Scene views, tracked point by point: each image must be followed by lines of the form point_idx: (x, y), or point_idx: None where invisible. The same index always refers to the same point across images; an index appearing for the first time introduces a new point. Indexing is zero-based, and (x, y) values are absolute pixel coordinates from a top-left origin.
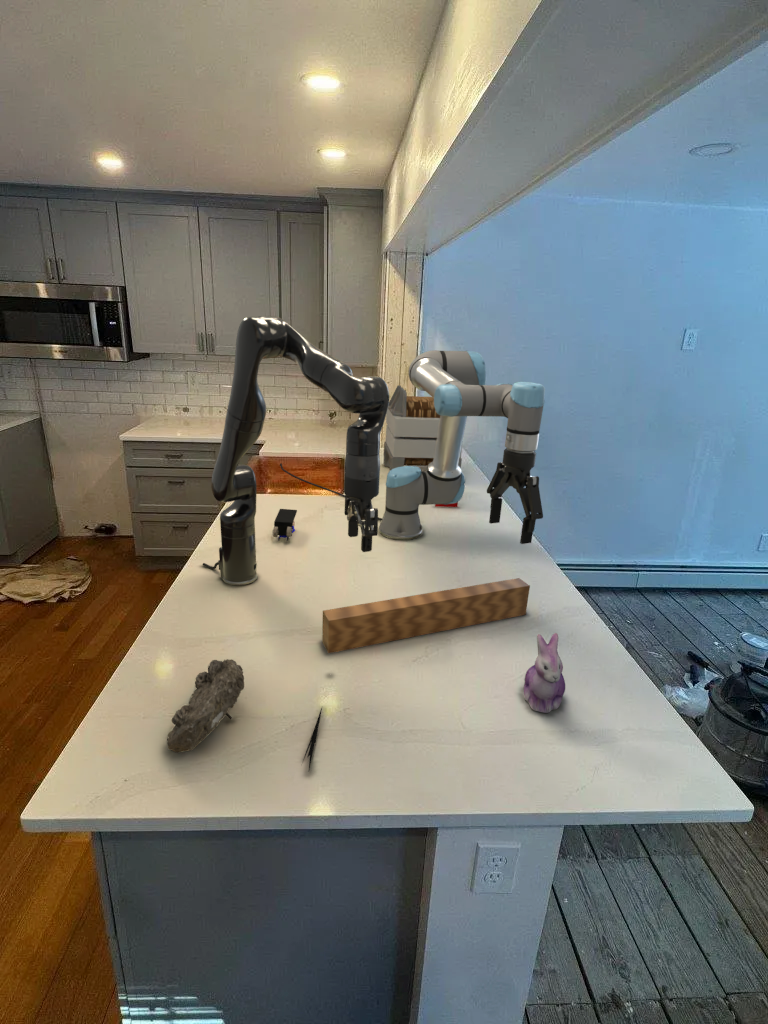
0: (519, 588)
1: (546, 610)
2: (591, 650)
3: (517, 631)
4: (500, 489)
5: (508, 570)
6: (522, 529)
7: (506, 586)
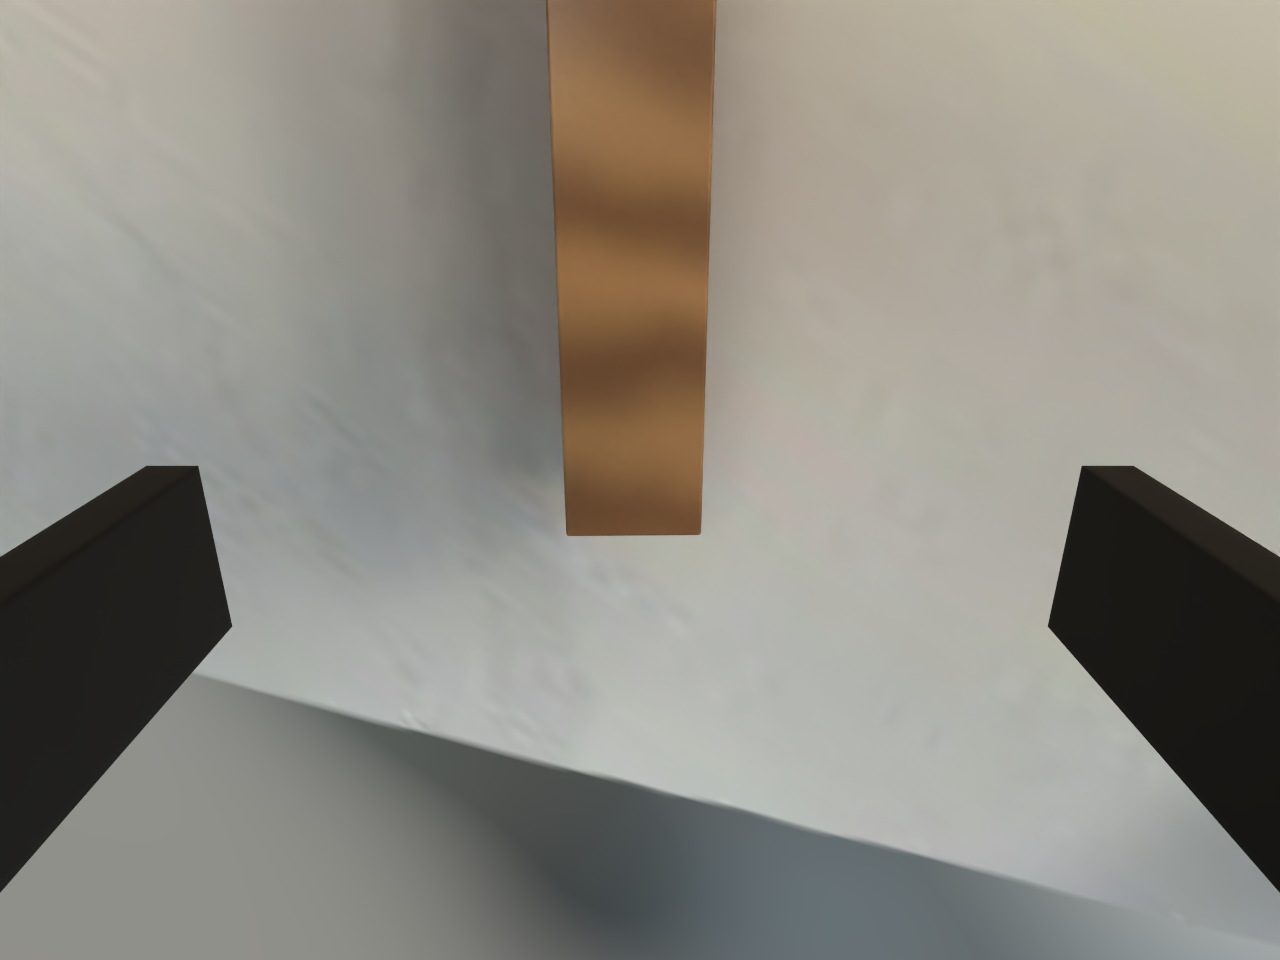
0: (563, 446)
1: (588, 587)
2: None
3: (427, 296)
4: None
5: (1073, 662)
6: (2, 586)
7: (607, 361)
